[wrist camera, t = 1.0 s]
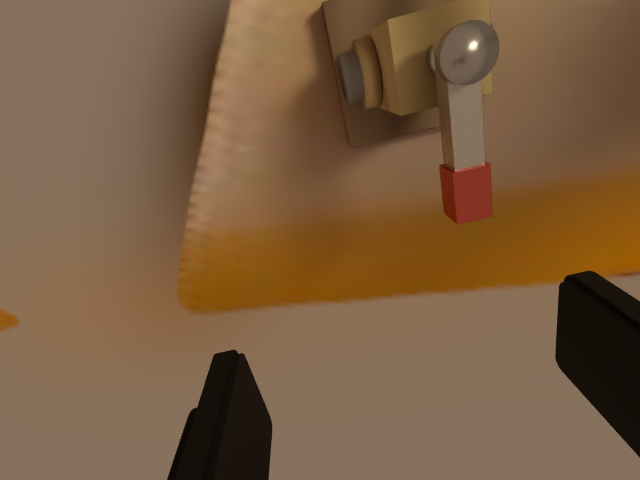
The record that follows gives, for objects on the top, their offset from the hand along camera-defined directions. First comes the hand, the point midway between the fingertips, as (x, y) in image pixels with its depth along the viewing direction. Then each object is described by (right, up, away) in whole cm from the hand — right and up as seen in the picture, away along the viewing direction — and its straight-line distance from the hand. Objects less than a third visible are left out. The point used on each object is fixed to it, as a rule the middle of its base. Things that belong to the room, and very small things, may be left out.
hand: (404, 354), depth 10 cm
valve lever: (+5, +10, +10) cm, 15 cm away
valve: (+4, +17, +17) cm, 24 cm away
